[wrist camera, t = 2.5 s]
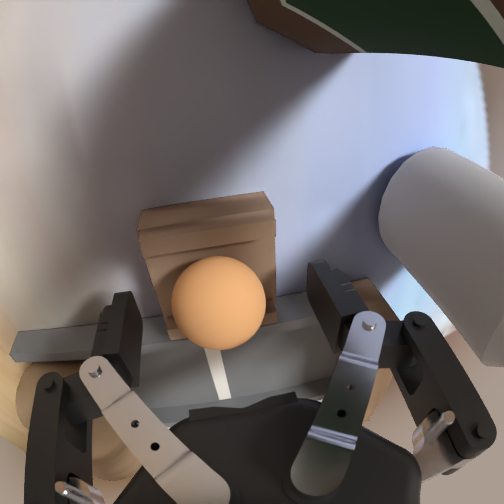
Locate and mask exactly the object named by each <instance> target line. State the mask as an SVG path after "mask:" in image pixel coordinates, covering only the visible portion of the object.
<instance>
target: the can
mask: <svg viewBox="0 0 504 504" xmlns="http://www.w3.org/2000/svg"><path fill="white" fill-rule="evenodd" d="M378 219H379V232H380V236H381V238H382V240H383V242H384V244H385V246H386V247H387V249H388V250H389V251H390V252H391V253H392V254H393V255H394V256H395V257H396V258H397V259H398V260H399V262H400V263H401V264H402V265H403V266H404V267H405V268H406V269H407V270H408V272H409V273H410V274H411V275H412V276H413V277H414V278H415V279H416V281H417V282H418V283H419V284H420V285H421V286H422V287H423V289H424V290H425V291H426V292H427V293H428V295H429V296H430V297H431V298H432V299H433V300H434V302H435V303H436V304H437V305H438V306H439V308H440V309H441V310H442V311H443V313H444V314H445V315H446V316H447V318H448V319H449V320H450V321H451V323H452V324H453V325H454V326H455V328H456V329H457V330H458V331H459V333H460V334H461V335H462V337H463V338H464V339H465V341H466V342H467V343H468V344H469V346H470V347H471V349H472V350H473V351H474V352H475V354H476V355H477V357H478V358H479V359H480V361H481V362H482V363H483V364H485V365H486V366H495V367H504V179H503V178H501V177H499V176H497V175H496V174H494V173H492V172H491V171H489V170H487V169H485V168H484V167H482V166H480V165H478V164H476V163H474V162H472V161H471V160H469V159H467V158H465V157H463V156H461V155H459V154H457V153H455V152H453V151H451V150H449V149H447V148H440V147H430V148H427V149H424V150H421V151H418V152H417V153H415V154H414V155H413V156H411V157H410V158H408V159H407V160H406V161H404V162H403V164H402V165H401V166H400V167H399V169H398V170H397V171H396V172H395V174H394V175H393V176H392V178H391V179H390V181H389V184H388V186H387V188H386V190H385V192H384V194H383V197H382V201H381V206H380V211H379V216H378Z"/></svg>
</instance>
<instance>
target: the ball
mask: <svg viewBox="0 0 504 504" xmlns="http://www.w3.org/2000/svg"><path fill="white" fill-rule="evenodd" d="M171 306H172V313H173V317H174V320H175V322H176V324H177V326H178V328H179V329H180V331H181V332H182V333H183V334H184V335H185V336H186V337H187V338H188V339H189V340H190V341H192V342H193V343H195V344H197V345H199V346H201V347H204V348H207V349H212V350H226V349H231V348H234V347H237V346H239V345H241V344H243V343H245V342H246V341H247V340H249V339H250V338H251V337H252V336H253V335H254V334H255V333H256V331H257V330H258V328H259V327H260V325H261V323H262V320H263V318H264V314H265V308H266V299H265V293H264V289H263V286H262V284H261V282H260V280H259V278H258V277H257V276H256V274H255V273H254V272H253V271H252V270H251V269H250V268H249V267H248V266H247V265H245V264H244V263H242V262H240V261H238V260H236V259H233V258H230V257H225V256H211V257H206V258H203V259H200V260H198V261H196V262H194V263H193V264H191V265H190V266H188V267H187V268H186V269H185V270H184V271H183V272H182V273H181V275H180V276H179V278H178V279H177V281H176V283H175V286H174V289H173V292H172V299H171Z"/></svg>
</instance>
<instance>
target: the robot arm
mask: <svg viewBox="0 0 504 504" xmlns="http://www.w3.org/2000/svg"><path fill="white" fill-rule="evenodd" d="M306 291H307V297H308V301H309V303H310V305H311V307H312V309H313V311H314V313H315V315H316V318H317V320H318V322H319V324H320V326H321V328H322V330H323V332H324V334H325V336H326V338H327V341H328V343H329V345H330V347H331V349H332V351H333V353H334V354H336V353H340V352H342V354H340V357H339V359H338V362H337V365H336V367H335V370H334V373H333V375H332V378H331V381H330V383H329V386H328V388H327V391H326V393H325V396H324V398H323V401H322V403H321V402H319V401H316V400H312V399H306V398H297V396H296V393H295V391H294V392H289V393H285V394H280V395H276V396H271V397H268V398H266V399H263V400H261V401H259V402H257V403H254V404H252V405H250V406H247V407H244V408H231V407H216V406H214V407H207V408H199V409H191V410H189V417H188V418H185V419H183V420H181V421H179V422H178V423H176V424H175V425H173V426H172V427H171V428H170V429H168V428H167V427H166V426H165V425H164V424H163V423H162V422H161V421H160V420H159V419H158V418H157V417H156V416H155V414H154V413H153V412H152V411H151V410H150V409H149V408H148V407H147V406H146V405H145V403H144V402H143V401H142V400H141V399H140V398H139V397H138V395H137V394H136V393H135V392H134V391H133V390H131V387H139V380H140V362H141V348H142V335H143V321H142V317H141V314H140V312H139V309H138V307H137V304H136V302H135V299H134V296H133V294H132V292H131V291H127V292H120V293H115V294H114V297H113V301H112V305H108V306H106V307H105V308H104V310H103V311H102V312H101V314H100V317H99V321H98V325H97V330H96V331H97V332H96V334H95V339H94V343H93V348H92V353H91V358H89V359H87V360H86V361H85V362H84V363H83V364H82V365H81V367H80V370H79V372H77V373H75V374H72V375H69V376H67V377H64V378H62V376H61V375H60V374H59V373H57V372H48V373H46V374H44V375H43V376H42V377H41V378H40V379H39V380H38V382H37V385H36V390H35V395H34V401H33V407H32V413H31V419H30V426H29V434H28V442H27V452H26V464H25V483H24V504H105V502H104V498H103V495H102V494H101V492H100V491H99V490H98V489H97V488H95V487H93V481H92V480H93V479H92V423H93V419H96V418H99V417H101V416H104V417H105V418H106V420H107V421H108V422H109V424H110V425H111V427H112V428H113V429H114V431H115V432H116V433H117V435H118V436H119V437H120V438H121V440H122V441H123V442H124V444H125V445H126V446H127V447H128V449H129V450H130V451H131V452H132V453H133V455H134V456H135V457H136V458H137V459H138V461H139V462H140V463H141V464H142V466H141V467H140V469H139V470H138V471H137V473H136V474H135V475H134V477H133V478H132V479H131V481H130V482H129V483H128V485H127V486H126V488H125V489H124V490H123V491H122V493H121V494H120V495H119V497H118V498H117V499H116V501H115V502H114V503H113V504H420V489H421V483H423V482H426V481H428V480H430V479H432V478H434V477H436V476H438V475H440V474H442V475H449V474H452V473H454V472H455V471H457V470H458V469H460V468H461V467H463V466H464V465H466V464H467V463H468V462H470V461H471V460H473V459H474V458H476V457H477V456H478V455H480V454H481V453H482V452H484V451H485V450H486V449H488V448H489V447H490V446H491V445H492V444H493V443H494V441H495V439H496V434H497V431H496V426H495V424H494V422H493V420H492V418H491V417H490V414H489V412H488V410H487V409H486V407H485V405H484V403H483V401H482V399H481V398H480V396H479V394H478V392H477V391H476V389H475V387H474V386H473V384H472V382H471V381H470V379H469V377H468V375H467V374H466V372H465V370H464V368H463V367H462V365H461V364H460V362H459V360H458V359H457V357H456V355H455V354H454V352H453V351H452V349H451V348H450V346H449V344H448V343H447V341H446V340H445V338H444V337H443V335H442V334H441V332H440V331H439V329H438V328H437V326H436V325H435V323H434V322H433V320H432V319H431V318H430V317H429V316H428V315H427V314H425V313H422V312H418V311H413V312H410V313H408V314H407V315H406V316H405V318H404V320H403V321H386V320H384V318H383V317H382V316H381V315H379V314H378V313H375V312H372V311H369V309H368V308H367V306H366V305H365V303H364V301H363V300H362V298H361V297H360V295H359V294H358V292H357V291H356V290H355V288H354V286H353V285H352V284H351V282H350V281H349V279H348V278H347V276H346V275H345V274H344V273H342V272H341V271H339V270H338V269H334V270H331V268H330V267H329V265H328V264H327V262H326V261H325V260H322V261H317V262H311V263H309V264H308V269H307V287H306ZM378 368H390V370H391V372H392V374H393V376H394V378H395V380H396V382H397V384H398V386H399V389H400V391H401V392H402V395H403V397H404V399H405V401H406V404H407V406H408V408H409V410H410V412H411V415H412V417H413V419H414V421H415V424H416V426H417V428H416V429H415V431H414V433H413V436H412V442H413V448H414V450H413V455H412V454H411V453H410V452H409V451H407V450H406V449H404V448H402V447H400V446H398V445H396V444H394V443H392V442H390V441H389V440H387V439H385V438H383V437H381V436H379V435H378V434H376V433H374V432H372V431H370V430H369V429H367V428H365V427H363V426H362V423H363V420H364V416H365V413H366V410H367V407H368V403H369V400H370V396H371V393H372V389H373V385H374V382H375V378H376V374H377V370H378Z"/></svg>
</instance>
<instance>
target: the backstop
mask: <svg viewBox="0 0 504 504" xmlns="http://www.w3.org/2000/svg"><path fill="white" fill-rule="evenodd" d="M351 284H352V285H353V286H354V288H355V290H356V291H357V292H358V294H359V295H360V297H361V298H362V300H363V301H364V303H365V305H366V306H367V308H368V309H369V311H372V312H375V313H378V314H379V315H381V316H382V317H383V318H384V320H386V321H400V320H399V318H398V317H397V316H396V314H395V313H394V311H393V310H392V309H391V307H390V306H389V304H388V303H387V302H386V300H385V299H384V298H383V296H382V295H381V293H380V292H379V291H378V289H377V288H376V287H375V285H374V284H373V283H372V281H371V280H370V279H369V278H366V279H362V280H357V281H353V282H351ZM340 354H342V352H340V353H338V357H337V361H336V365H337V362H338V359H339V357H340ZM336 365H335V367H336ZM334 370H335V369H334ZM392 377H393V374H392V372H391V370H390V368H378V370H377V374H376V378H375V382H374V385H373V389H372V393H371V396H370V400H369V403H368V407H367V410H366V413H365V416H364V420H363V422H366V421H368V420H369V419H370V417H371V415H372V414H373V412H374V410H375V409H376V407H377V405H378V403H379V402H380V400H381V398H382V396H383V394H384V392H385V391H386V389H387V387H388V385H389V383H390V381H391V379H392Z"/></svg>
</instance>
